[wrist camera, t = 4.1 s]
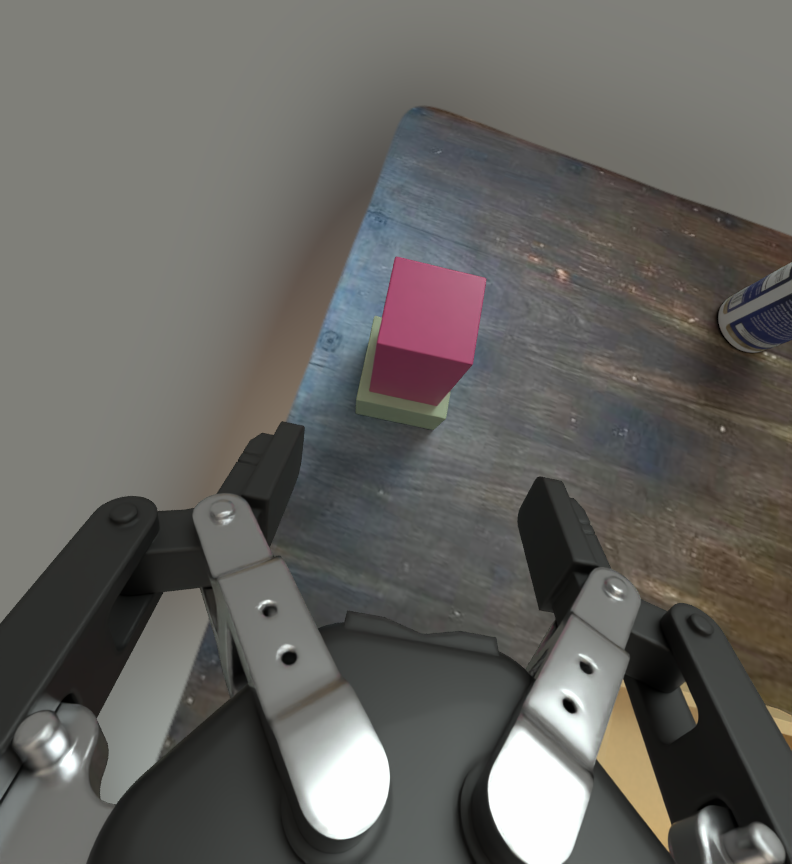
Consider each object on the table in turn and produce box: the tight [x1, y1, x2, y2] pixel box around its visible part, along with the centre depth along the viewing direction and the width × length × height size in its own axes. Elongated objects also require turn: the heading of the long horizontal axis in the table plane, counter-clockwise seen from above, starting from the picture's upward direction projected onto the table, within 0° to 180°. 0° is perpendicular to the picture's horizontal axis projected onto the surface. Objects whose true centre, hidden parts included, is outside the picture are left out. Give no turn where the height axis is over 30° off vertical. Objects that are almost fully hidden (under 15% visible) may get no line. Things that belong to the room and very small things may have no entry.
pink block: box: [369, 257, 486, 406], centre depth 23 cm, size 5×5×8 cm
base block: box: [356, 316, 450, 430], centre depth 29 cm, size 6×6×4 cm
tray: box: [596, 680, 792, 852], centre depth 27 cm, size 16×11×4 cm
